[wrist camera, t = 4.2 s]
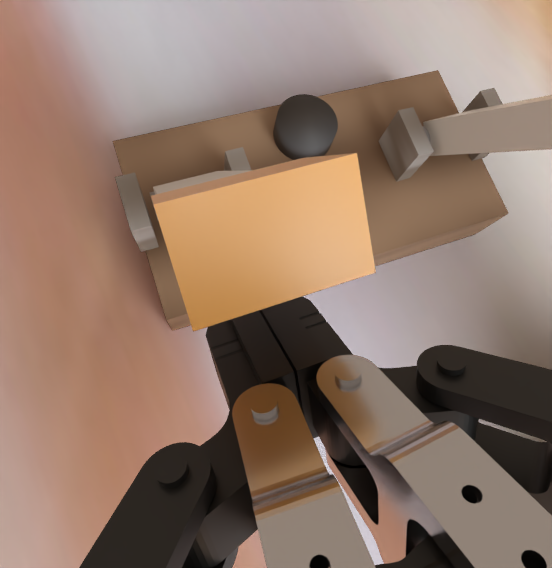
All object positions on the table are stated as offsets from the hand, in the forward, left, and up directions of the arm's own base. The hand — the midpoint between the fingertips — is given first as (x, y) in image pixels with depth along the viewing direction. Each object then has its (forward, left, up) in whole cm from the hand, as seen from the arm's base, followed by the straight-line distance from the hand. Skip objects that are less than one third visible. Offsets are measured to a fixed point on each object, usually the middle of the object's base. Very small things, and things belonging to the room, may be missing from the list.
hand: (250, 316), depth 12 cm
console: (-9, +2, -10) cm, 13 cm away
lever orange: (-5, -4, -5) cm, 8 cm away
